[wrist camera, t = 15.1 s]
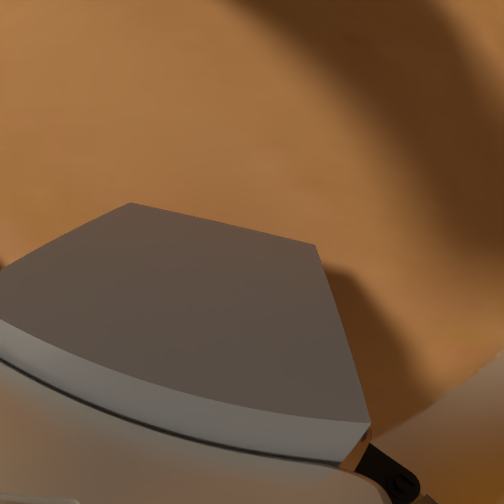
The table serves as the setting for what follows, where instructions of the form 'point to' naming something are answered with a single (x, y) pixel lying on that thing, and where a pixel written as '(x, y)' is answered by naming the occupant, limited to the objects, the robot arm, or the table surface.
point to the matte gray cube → (189, 332)
